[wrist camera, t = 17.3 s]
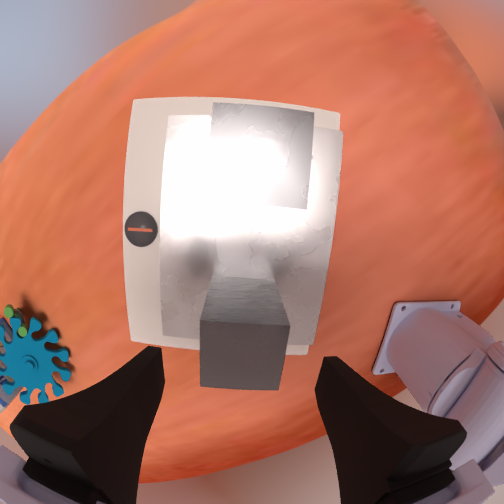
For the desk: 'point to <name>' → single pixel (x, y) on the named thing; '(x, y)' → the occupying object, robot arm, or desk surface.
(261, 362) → the block
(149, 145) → the kitchen scale
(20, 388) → the medicine box
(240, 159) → the block
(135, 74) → the desk surface
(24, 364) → the gear
